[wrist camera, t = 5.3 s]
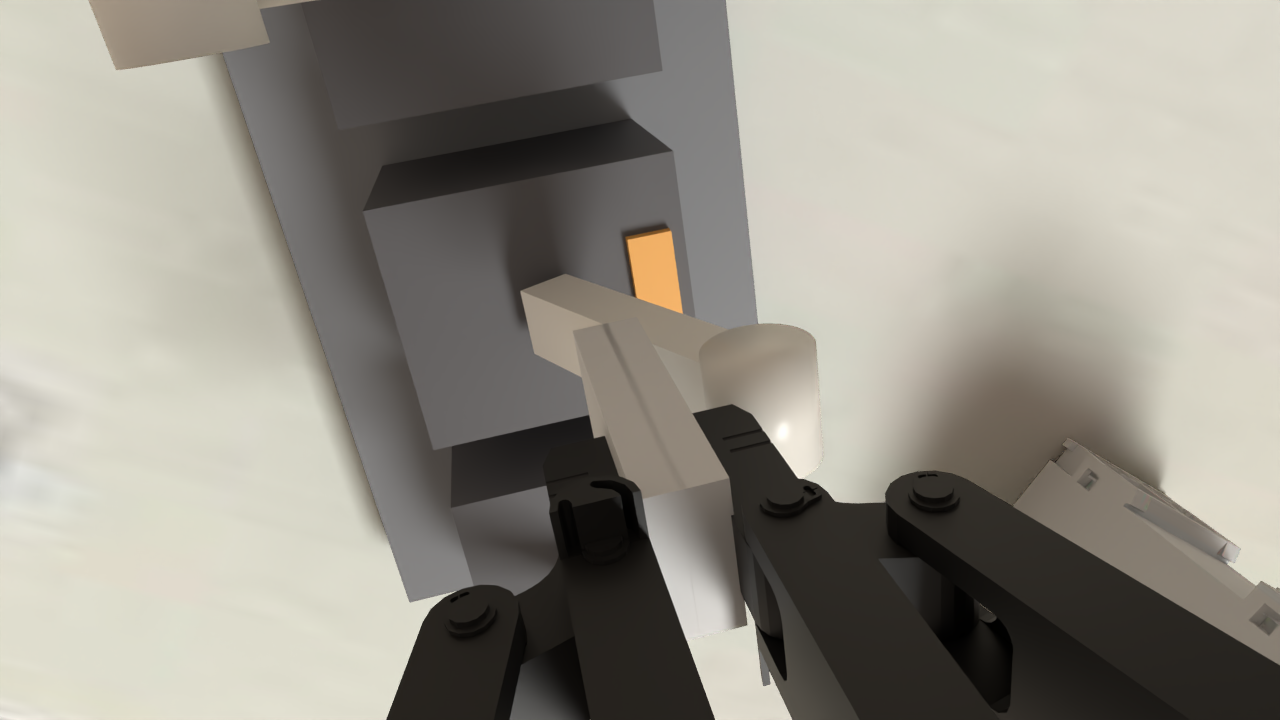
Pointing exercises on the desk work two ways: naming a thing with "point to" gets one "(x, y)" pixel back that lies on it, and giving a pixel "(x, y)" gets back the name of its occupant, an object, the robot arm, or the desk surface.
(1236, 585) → the circuit breaker
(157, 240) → the desk surface
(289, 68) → the breaker board
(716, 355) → the handle
